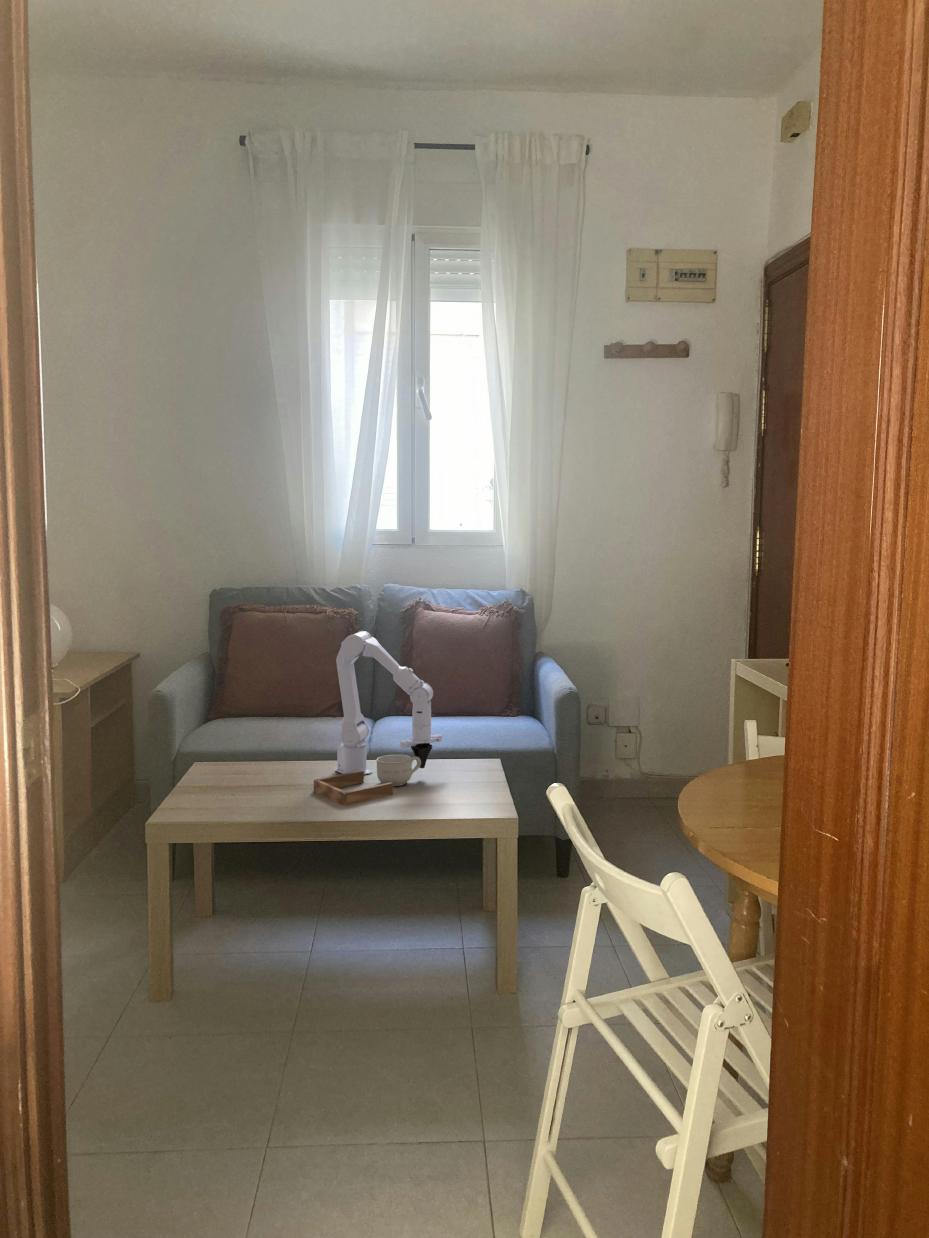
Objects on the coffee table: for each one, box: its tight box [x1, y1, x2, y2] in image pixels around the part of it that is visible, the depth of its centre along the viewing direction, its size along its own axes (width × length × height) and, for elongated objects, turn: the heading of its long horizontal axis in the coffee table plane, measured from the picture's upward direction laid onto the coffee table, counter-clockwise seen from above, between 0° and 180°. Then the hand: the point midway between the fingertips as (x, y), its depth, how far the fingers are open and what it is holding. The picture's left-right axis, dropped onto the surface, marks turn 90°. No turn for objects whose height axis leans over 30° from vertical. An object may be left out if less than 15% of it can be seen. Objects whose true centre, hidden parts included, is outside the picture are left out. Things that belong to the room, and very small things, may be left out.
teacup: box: [375, 754, 421, 787], centre depth 282 cm, size 14×11×8 cm
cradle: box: [313, 770, 394, 807], centre depth 272 cm, size 16×17×4 cm
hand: (421, 767), depth 288 cm, fingers closed
